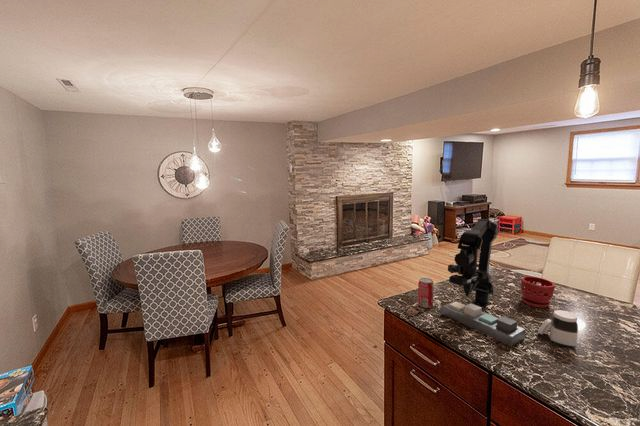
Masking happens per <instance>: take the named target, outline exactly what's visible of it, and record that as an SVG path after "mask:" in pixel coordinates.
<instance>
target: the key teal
mask: <svg viewBox="0 0 640 426" xmlns="http://www.w3.org/2000/svg"><path fill="white" fill-rule="evenodd" d="M488 314H489V313H487V314H484V315H482V316H480V317H479V320H481V321H483V322H486V323H488V324H490V325H494V324H496V323H497V319H498V318H499V317H497V318H496V316H494V315H492V316H491V314H489V315H488ZM493 316H494V317H493Z"/></svg>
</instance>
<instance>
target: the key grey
mask: <svg viewBox="0 0 640 426" xmlns="http://www.w3.org/2000/svg"><path fill="white" fill-rule="evenodd" d="M465 305H466V306H464V313H465V314H467V315H469V316H472V317H474V318H476V317H479V316H481V314H482V312H483V306H482V307H481V306H478V305H477V304H474V303H471V302H470V303H469V304H465Z"/></svg>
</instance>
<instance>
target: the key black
mask: <svg viewBox="0 0 640 426" xmlns="http://www.w3.org/2000/svg"><path fill="white" fill-rule="evenodd" d="M498 318H499V319H497V328H499V329H502V330H504V331H506V332H509V333H512V332H514V331H516V330H517V326H518V321H517V320H514V319H512V318H509V317H507V316H505V315H504V316H501V317H498Z"/></svg>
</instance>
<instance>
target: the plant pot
mask: <svg viewBox="0 0 640 426" xmlns="http://www.w3.org/2000/svg"><path fill="white" fill-rule="evenodd" d="M533 282H534V283H533ZM537 283H540V285H538V284H537ZM555 286H556V285H555V283H554V282H552V281H550V280H549V279H546V278H543V277H538V276H523V277H522V278H521V284H520V291H521V294H522V295H521V296H520V300H521V301H522V302H523V303H524V304H526V305H528V306H530V307H531V306H532V307H535V308H540V309H541V308H547V307H549V306H550V304H551V303H550V301H551V299H552V297H553V295H554V294H555V293H554V291H555V288H556V287H555Z"/></svg>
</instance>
